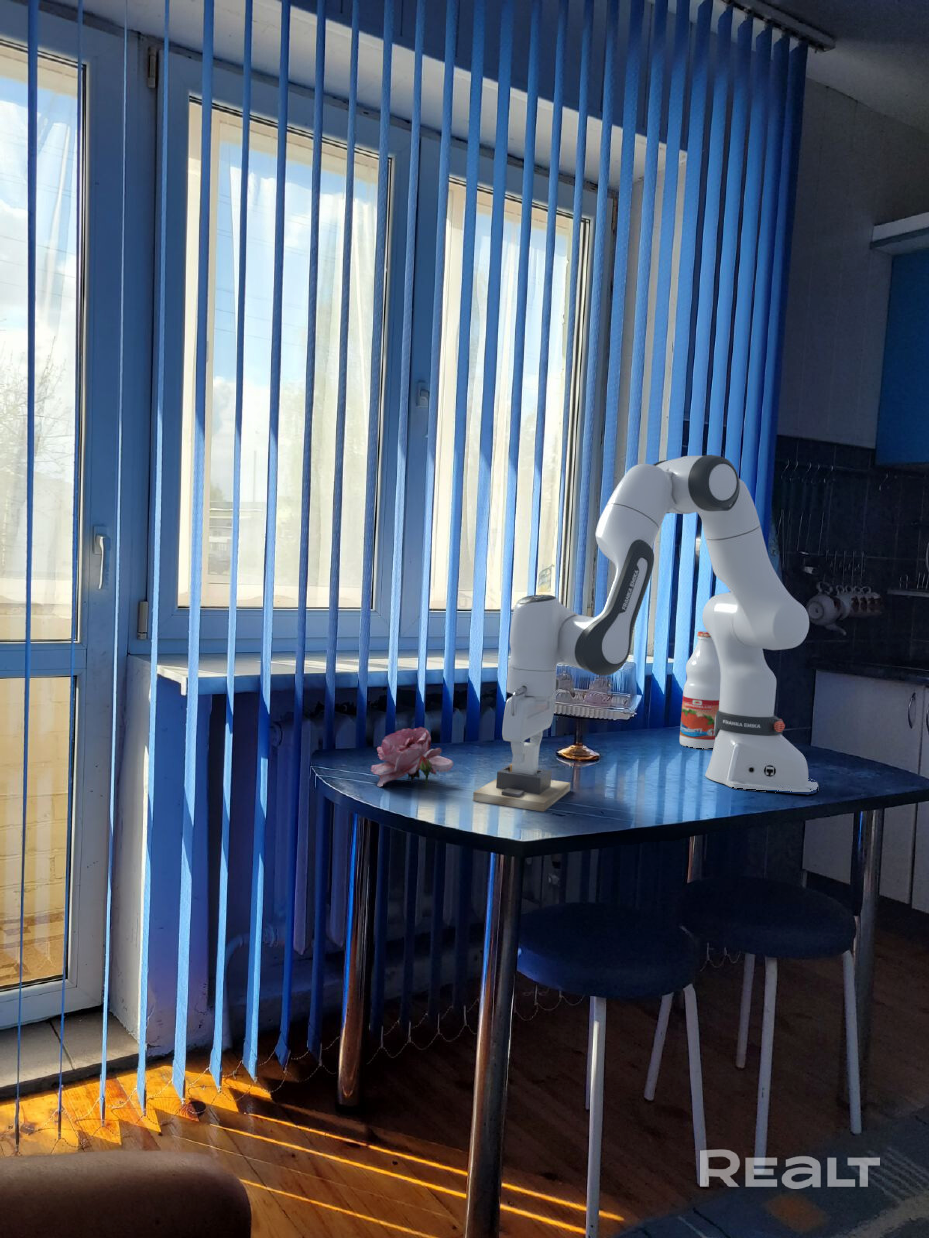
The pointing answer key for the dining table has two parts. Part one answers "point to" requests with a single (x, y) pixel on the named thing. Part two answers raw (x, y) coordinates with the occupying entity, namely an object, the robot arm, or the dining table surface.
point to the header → (524, 780)
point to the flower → (408, 756)
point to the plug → (528, 760)
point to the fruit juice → (701, 695)
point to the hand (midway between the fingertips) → (525, 758)
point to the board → (521, 796)
